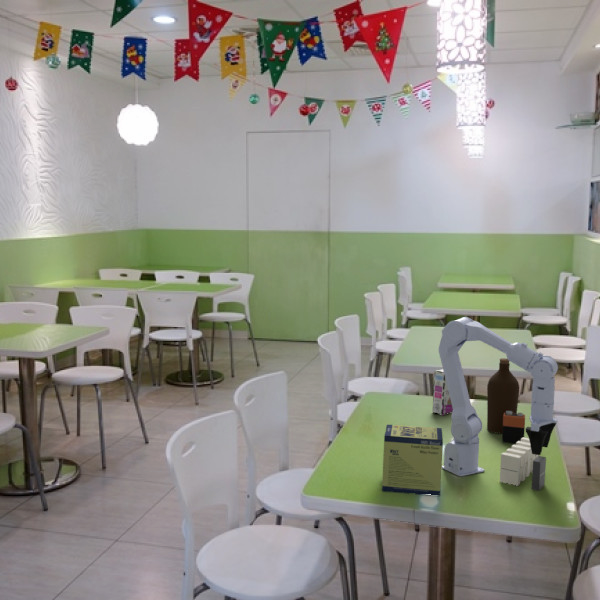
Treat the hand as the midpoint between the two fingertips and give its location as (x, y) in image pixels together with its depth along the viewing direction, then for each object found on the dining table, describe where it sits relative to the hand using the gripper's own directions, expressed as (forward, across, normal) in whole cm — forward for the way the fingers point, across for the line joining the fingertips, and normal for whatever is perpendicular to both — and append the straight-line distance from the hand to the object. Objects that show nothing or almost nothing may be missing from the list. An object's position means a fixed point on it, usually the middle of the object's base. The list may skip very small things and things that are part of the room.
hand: (539, 450), depth 188 cm
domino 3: (+10, +6, +6) cm, 13 cm away
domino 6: (+10, -1, 0) cm, 10 cm away
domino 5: (+10, +10, +6) cm, 15 cm away
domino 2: (+10, +2, +7) cm, 12 cm away
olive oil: (+10, +44, +23) cm, 51 cm away
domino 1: (+10, -3, +7) cm, 12 cm away
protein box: (+10, -21, +28) cm, 37 cm away
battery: (+10, +34, +16) cm, 39 cm away
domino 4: (+10, +14, +6) cm, 18 cm away
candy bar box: (+10, +55, +47) cm, 73 cm away
